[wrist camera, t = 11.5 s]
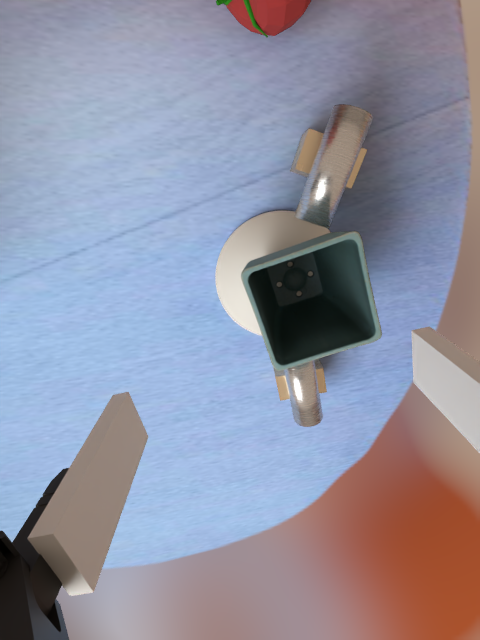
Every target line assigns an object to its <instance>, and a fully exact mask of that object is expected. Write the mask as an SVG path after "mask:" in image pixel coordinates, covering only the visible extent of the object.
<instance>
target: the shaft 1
mask: <svg viewBox="0 0 480 640" xmlns="http://www.w3.org/2000/svg"><path fill="white" fill-rule="evenodd" d="M274 372H275V378H276V382H277V387H278V392H279V396H280V401H281V400H286V399H290V402H291V407H292V412H293V417H294V421H295V422H296V423H297V424H298V425H300V426H304V427H310V426H314V425H317V424H318V423H320V422H321V420H322V418H323V414H322V407H321V401H320V395H319V393H324V392H327V391H326V384H325V377H324V371H323V367H322V365H321V363H320V360H319V359H316V360H312V361H310V362H306V363H304V364H301V365H297V366H295V367H291V368H288V369H285V370H281V371H277V370H276V369H275V368H274Z"/></svg>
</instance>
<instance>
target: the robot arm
mask: <svg viewBox="0 0 480 640" xmlns="http://www.w3.org/2000/svg"><path fill="white" fill-rule="evenodd" d="M412 355H413V382H414V384H416V386H417V387H418V388H419V389H420V390H421V391H422V392H423V393H424V394H425V395H426V396H427V397H428V398H429V399H430V401H431V402H432V403H433V404H434V405H435V406H436V407H437V408H438V409H439V410H440V411H441V412H442V413H443V414H444V416H445V417H446V418H447V419H448V420H449V421H450V422H451V423H452V424H453V425H454V426H455V427H456V428H457V429H458V431H459V432H460V433H461V434H462V435H463V436H464V437H465V438H466V439H467V440H468V441H469V442H470V443H471V444H472V445H473V447H474V448H475V449H476V450H477V451H478V452H479V453H480V361H478V360H477V359H475V358H474V357H472V356H471V355H469V354H468V353H466V352H465V351H464V350H462V349H461V348H459V347H458V346H457V345H455V344H454V343H452V342H451V341H449V340H448V339H446V338H445V337H443V336H442V335H440V334H439V333H438V332H436V331H435V330H433V329H432V328H431V327H425V328H421V329H416V330H412ZM147 439H148V435H147V433H146V430H145V428H144V426H143V424H142V421H141V419H140V417H139V415H138V412H137V410H136V408H135V406H134V403H133V401H132V399H131V397H130V394H129V392H125V393H121V394H116V395H113V396H112V398H111V399H110V401H109V403H108V404H107V406H106V408H105V409H104V411H103V413H102V414H101V416H100V418H99V419H98V421H97V423H96V424H95V426H94V428H93V429H92V431H91V433H90V434H89V436H88V438H87V439H86V441H85V443H84V444H83V446H82V448H81V449H80V451H79V453H78V454H77V456H76V458H75V459H74V461H73V463H72V465H71V466H70V468H66V469H63V470H62V471H61V472H60V473H59V474H58V475H57V476H56V477H55V478H54V479H53V480H52V481H51V482H50V484H49V486H48V487H47V489H46V490H45V492H44V493H43V497H41V498H40V500H39V501H38V503H37V504H36V508H34V509H33V511H32V512H31V514H30V516H29V517H28V519H27V520H26V522H25V523H24V525H23V527H22V528H21V530H20V531H19V533H18V534H17V536H16V538H15V539H14V541H13V542H11V541H10V539H9V538H8V537H7V536H6V534H5V533H4V532H3V531H0V640H69V637H68V634H67V629H66V626H65V622H64V618H63V614H62V610H61V606H60V604H59V603H58V601H57V600H56V597H57V595H58V593H59V590H60V588H61V586H63V587H64V588H65V590H66V591H67V592H68V594H69V595H70V596H73V595H80V594H85V593H91V592H94V589H95V587H96V584H97V581H98V578H99V575H100V573H101V570H102V567H103V564H104V561H105V558H106V556H107V553H108V550H109V547H110V544H111V541H112V538H113V536H114V533H115V530H116V527H117V524H118V521H119V519H120V516H121V513H122V510H123V507H124V504H125V502H126V499H127V496H128V493H129V490H130V487H131V484H132V482H133V479H134V476H135V473H136V470H137V467H138V465H139V462H140V459H141V456H142V453H143V450H144V448H145V445H146V442H147Z"/></svg>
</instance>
